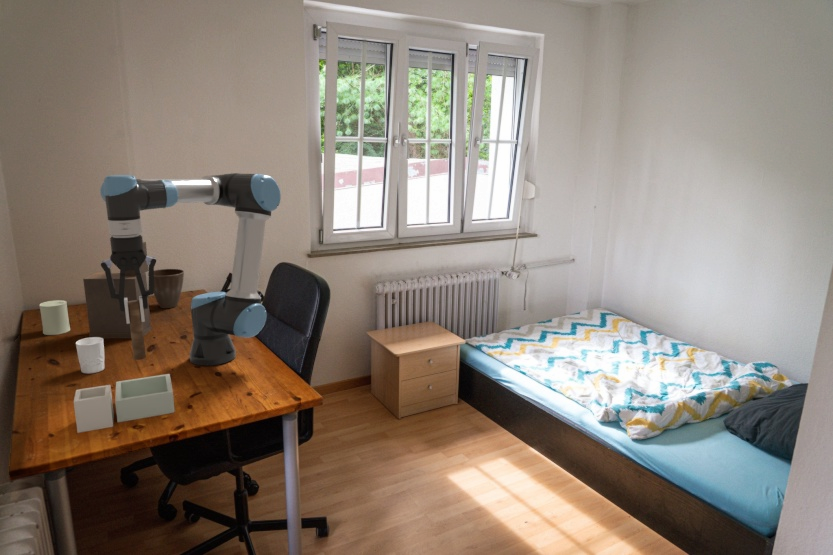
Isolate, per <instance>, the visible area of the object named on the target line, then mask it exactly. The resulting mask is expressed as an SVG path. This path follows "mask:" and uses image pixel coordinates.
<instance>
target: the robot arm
mask: <svg viewBox="0 0 833 555" xmlns="http://www.w3.org/2000/svg"><path fill="white" fill-rule="evenodd" d="M281 195H282V194H281V189H280V186H279V185H278V183H277V181H276V180H275V179H274V178H273V177H272V176H270V175H267V174H262V173H239V172H235V173H232V172H231V173H224V174H223V173H222V174H217V175H204V176H202V177H201V178H136V176H135V175H133V174H115V175H114V174H112V175H106V176H105V177H104V178H103V182H102V184H101V185H100V196H101V199H102V200H103V201H104V202H105V206H106V214H107V225H108V231H109V235H110V238H109V241H110V248H111V249H110V250H111V254H110V257H109V258H107V259H106V260H102V261H101V263H100V267H101V268H102V270H103V271H104V273H105V274H106V278H107V283H108V287H109V291H110V295H111V298H115V299H118V300H119V304H120V310H121V311H125V313H126V322H127V324H129V323H130V319H129V311H128V300H127V298H124V287H125V271H128V270H133V271H135V274H136V278H137V281H138V285H139V288H140V292H141V295H142V296H139V302H140V311H141V320H142V322H145V318H144V309H147V308H148V302H149V301H148V302H147V297H148V298H149V296H152V295H154V271H155V266H156V263H157V258H156V257H151V256H148V255H147V256H146V254H145V252H144V249H143V242H144V240H143V236H142V235H141V234H142V232H143V231H142V224H141V223H142V222H141V215H140V214H141V212H140V211H147V210H156V209H158V210H159V209H166V208H171V207H174V206H175V205H176V204H191V203H192V204H194V203H203V204H204V205H206V206H221V207H222V206H223V207H228V208H234V213H235V214H236V216H237V217H238V224H237V232H236V239H235V240H236V241H235V248H234V257H233V265H232V266H233V267H232V273H231V281H230V283H231V284H230V289H229V290H228V291H227V292H225V291H212V292H211V291H210V292H206V293H202V294H198V295H196V296H195V295H194V296H193V297H192V299H191V301H190V306H191V307H190V312H191V322H192V332H193V340H192V344H191V348H190V351H189V361H190V363H192V364H193V365H196V366H204V367H205V366H217V365H222V364H226V363H228V362H230V361H233V360H234V359H235V358H236V355H237V353H236V348H235V346H234V342H233V340H232V338H231V336H236V337H238V338H249V339H250V338H253V337H255V336H257V335H258V334H259V333H260V332H261V331H262V330H263V328H264V326H265V325H266V322H267V315H268V314H267V310H266V308H265V306H264V305H263V304H261V302H262V297H261V296H260V294H259V293H258V287H259V280H260V271H261V261H262V256H263V255H262V253H263V245H264V236H265V231H266V230H265V229H266V222H267V221H268V220H269V219H270V218H272V211H275V210H277V209H278V207H279V205H280V203H281V198H282V196H281ZM145 260H146V261H147V264H148V270H149V271H148V273H149V276H148V289H147V291H146V290H145V286H144V282H143V279H142V275H141V272H140V267H141V265H142V264H143V262H144V261H145ZM112 264H113V265H115V266H116V267H117V269H119V270H120V271H119V273H120V284H119V293H116V291H115V287H114V282H113V278H112V274H111V273H112V270H111V268H112ZM230 335H231V336H230Z"/></svg>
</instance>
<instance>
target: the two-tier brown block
mask: <svg viewBox="0 0 833 555" xmlns="http://www.w3.org/2000/svg"><path fill="white" fill-rule="evenodd" d="M143 249H144V252H145V254H146V256H148V253H147V250H148V249H147V243H146V241H143ZM140 272H141V275H142V279H143V282H144V286H145V290H146V291H147V290H148V285H147V283H148V282H147V272H149V265H148V264H147V261H146V260H145V261H144V262H143V264H142V265H141V267H140ZM111 274H112V278H113V282H114V287H115V291H116V293H119V284H120V272H111ZM82 280H83V282H82V283H83V289H84V297H85V304H86V312H87V320H88V321H87V322H88V329H89V334H88V336H89V338H90V337H100V338H103V339H131V330H130V323H129V324H127V322H126V313H125V311H121V310H120V304H119V300H118V299H115V298H111V295H110V291H109V287H108V283H107V278H106V274H105V272H95V273H93V274H91V275H89V276H86V277H85V278H83V279H82ZM139 296H142V295H141V292H140V288H139V285H138V281H137V278H136V274H135V271H133V270H128V271H125V287H124V298H127V300H128V301H132V300H139ZM147 302H148V308H147V309H144V318H145V322H142V326H143V335H144V336H145V335H147V334H148V333H149V332H150V331H151V330H152V322H151V314H150V303H149V296H148V297H147Z"/></svg>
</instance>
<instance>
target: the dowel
mask: <svg viewBox="0 0 833 555" xmlns="http://www.w3.org/2000/svg"><path fill="white" fill-rule="evenodd" d="M128 311H129V319H130V330H131V338H130V339H131V347H132V354H133V356H132V357H133V360H137V361H138V360H144V359H146V357H147V354H146V345H145V338H144V337H145V335H143V326H142V320H141V311H140V302H139V300H132V301H128Z"/></svg>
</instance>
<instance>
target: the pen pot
mask: <svg viewBox="0 0 833 555" xmlns="http://www.w3.org/2000/svg"><path fill="white" fill-rule="evenodd" d="M112 395H113V394H112V387H111V384H106V385H99V386H92V387H86V388H80V389H76V390H75V393H74V398H73V407H74V416H75V423H76V424H75V425H76V431H77V434H80V433H85V432H90V431H97V430H102V429H107V428H112V427H114V420H115V419H114V418H115V413H114V404H113V396H112Z"/></svg>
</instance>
